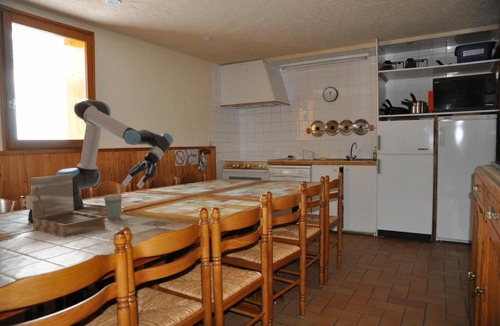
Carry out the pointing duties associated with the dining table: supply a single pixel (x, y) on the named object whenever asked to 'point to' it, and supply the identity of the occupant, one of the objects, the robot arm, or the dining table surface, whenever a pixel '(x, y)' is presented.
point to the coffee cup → (113, 206)
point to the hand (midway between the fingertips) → (130, 186)
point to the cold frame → (59, 208)
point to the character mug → (28, 206)
